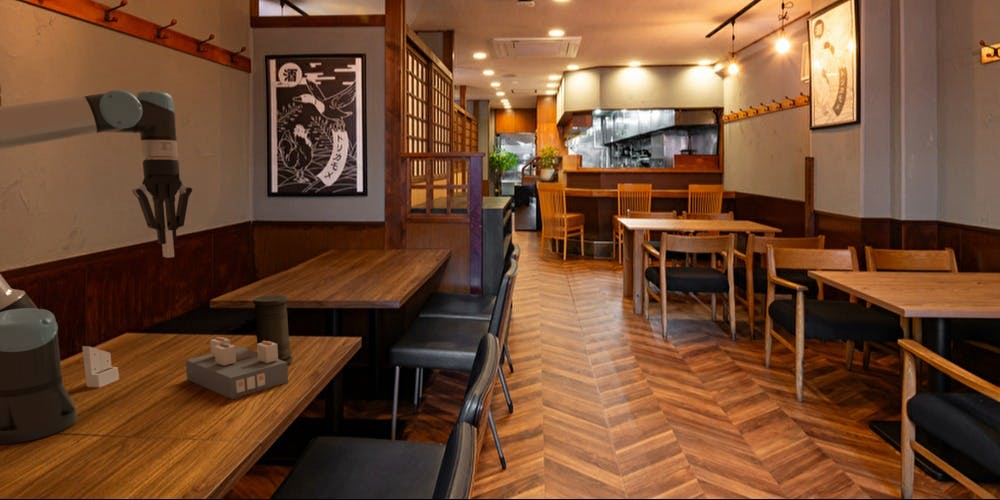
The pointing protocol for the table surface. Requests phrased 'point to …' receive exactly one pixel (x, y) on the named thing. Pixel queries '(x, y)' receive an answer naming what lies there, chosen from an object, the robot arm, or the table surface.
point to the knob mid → (225, 354)
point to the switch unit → (236, 373)
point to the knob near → (267, 351)
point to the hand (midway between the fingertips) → (168, 256)
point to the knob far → (218, 343)
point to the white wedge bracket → (98, 367)
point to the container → (273, 324)
